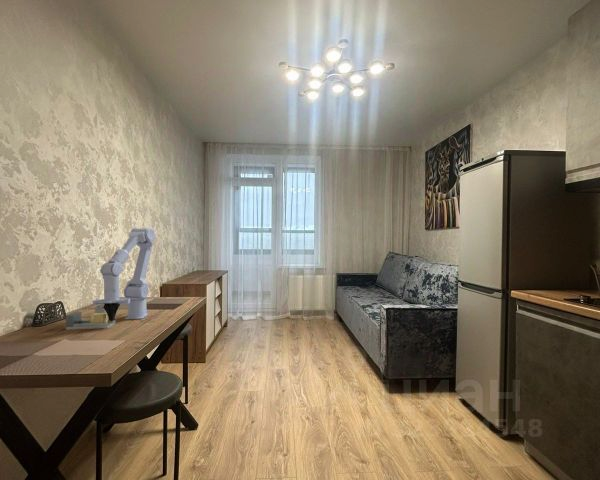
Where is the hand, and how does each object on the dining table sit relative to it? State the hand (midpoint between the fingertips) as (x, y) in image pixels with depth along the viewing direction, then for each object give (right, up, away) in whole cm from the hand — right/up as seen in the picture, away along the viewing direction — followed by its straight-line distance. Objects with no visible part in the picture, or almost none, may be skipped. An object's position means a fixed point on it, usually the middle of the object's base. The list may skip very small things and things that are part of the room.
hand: (111, 320), depth 140 cm
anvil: (-15, -3, -2) cm, 16 cm away
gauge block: (-5, -1, -1) cm, 5 cm away
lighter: (-16, -3, +19) cm, 25 cm away
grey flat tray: (-9, -3, 0) cm, 9 cm away
